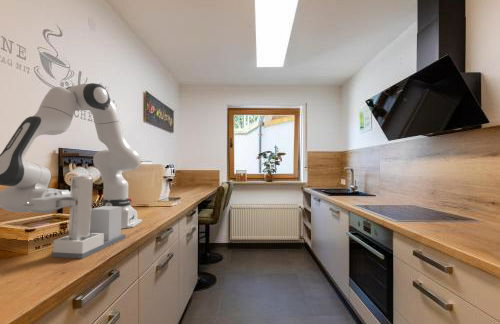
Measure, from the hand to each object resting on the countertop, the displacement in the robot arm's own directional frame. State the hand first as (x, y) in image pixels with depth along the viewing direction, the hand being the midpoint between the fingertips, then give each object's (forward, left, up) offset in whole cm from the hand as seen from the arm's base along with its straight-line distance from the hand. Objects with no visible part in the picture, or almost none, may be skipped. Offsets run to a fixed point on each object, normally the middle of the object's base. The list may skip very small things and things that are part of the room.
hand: (83, 201), depth 90 cm
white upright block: (0, -1, -16) cm, 16 cm away
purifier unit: (-7, -1, -18) cm, 19 cm away
